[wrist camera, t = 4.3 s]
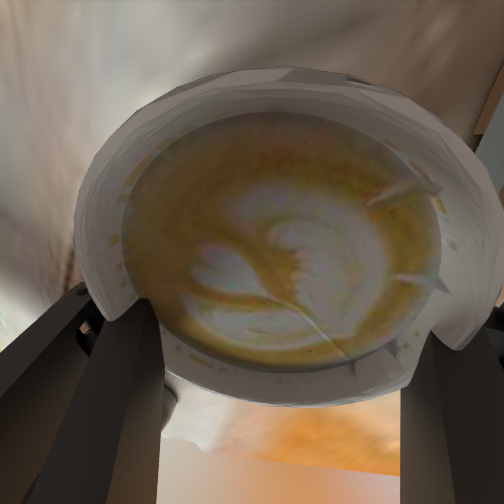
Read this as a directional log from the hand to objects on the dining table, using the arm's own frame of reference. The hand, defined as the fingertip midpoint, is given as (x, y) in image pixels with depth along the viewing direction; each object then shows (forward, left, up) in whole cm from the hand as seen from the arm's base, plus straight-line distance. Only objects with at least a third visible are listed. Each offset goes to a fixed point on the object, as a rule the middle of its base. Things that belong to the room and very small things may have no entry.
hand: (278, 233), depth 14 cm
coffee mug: (0, 0, -1) cm, 1 cm away
